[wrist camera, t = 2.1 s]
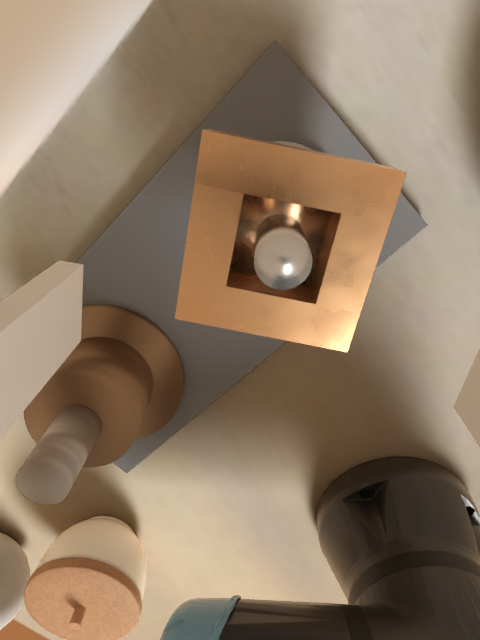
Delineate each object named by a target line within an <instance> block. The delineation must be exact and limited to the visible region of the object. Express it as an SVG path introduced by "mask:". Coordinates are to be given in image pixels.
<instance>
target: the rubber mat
mask: <svg viewBox="0 0 480 640" xmlns="http://www.w3.org/2000/svg"><path fill="white" fill-rule="evenodd" d="M204 129H213V130H218V131H223V132H228V133H232V134H237V135H242V136H247V137H252V138H256V139H261V140H266V141H288V142H294V143H298V144H301V145H304V146H306V147H308V148H310V149H312V150H314V151H318V152H323V153H328V154H332V155H337V156H342V157H347V158H351V159H356V160H361V161H366V162H371V163H375V164H377V163H376V162H375V160H374V159H373V158H372V157H371V156H370V154H369V153H368V152H367V151H366V150H365V148H364V147H363V146H362V145H361V143H360V142H359V141H358V140H357V139H356V137H355V136H354V135H353V134H352V133H351V131H350V130H349V129H348V128H347V127H346V125H345V124H344V123H343V122H342V120H341V119H340V118H339V117H338V116H337V114H336V113H335V112H334V111H333V110H332V108H331V107H330V106H329V105H328V104H327V102H326V101H325V100H324V99H323V97H322V96H321V95H320V94H319V93H318V91H317V90H316V89H315V88H314V87H313V85H312V84H311V83H310V82H309V81H308V79H307V78H306V77H305V76H304V74H303V73H302V72H301V71H300V70H299V68H298V67H297V66H296V65H295V64H294V62H293V61H292V60H291V59H290V58H289V56H288V55H287V54H286V53H285V51H284V50H283V49H282V48H281V47H280V45H279V44H278V43H277V42H276V41H274V43H273V44H272V45H271V46H270V47H269V48H268V49H267V50H266V51H265V53H264V54H263V55H262V56H261V57H260V58H259V59H258V60H257V62H256V63H255V64H254V65H253V66H252V67H251V68H250V69H249V70H248V72H247V73H246V74H245V75H244V76H243V77H242V78H241V79H240V81H239V82H238V83H237V84H236V85H235V86H234V87H233V88H232V89H231V91H230V92H229V93H228V94H227V95H226V96H225V97H224V98H223V100H222V101H221V102H220V103H219V104H218V105H217V106H216V107H215V108H214V110H213V111H212V112H211V113H210V114H209V115H208V116H207V117H206V119H205V120H204V121H203V122H202V123H201V124H200V125H199V126H198V127H197V129H196V130H195V131H194V132H193V133H192V134H191V135H190V136H189V138H188V139H187V140H186V141H185V142H184V143H183V144H182V145H181V146H180V148H179V149H178V150H177V151H176V152H175V153H174V154H173V155H172V157H171V158H170V159H169V160H168V161H167V162H166V163H165V164H164V165H163V167H162V168H161V169H160V170H159V171H158V172H157V173H156V174H155V176H154V177H153V178H152V179H151V180H150V181H149V182H148V183H147V184H146V186H145V187H144V188H143V189H142V190H141V191H140V192H139V193H138V195H137V196H136V197H135V198H134V199H133V200H132V201H131V202H130V203H129V205H128V206H127V207H126V208H125V209H124V210H123V211H122V212H121V214H120V215H119V216H118V217H117V218H116V219H115V220H114V221H113V222H112V224H111V225H110V226H109V227H108V228H107V229H106V230H105V231H104V233H103V234H102V235H101V236H100V237H99V238H98V239H97V240H96V241H95V243H94V244H93V245H92V246H91V247H90V248H89V249H88V250H87V252H86V253H85V254H84V255H83V256H82V257H81V258H80V259H79V260H78V262H77V263H78V264H83V294H82V305H90V304H107V305H114V306H119V307H122V308H126V309H129V310H131V311H134V312H136V313H138V314H140V315H142V316H144V317H146V318H147V319H149V320H150V321H152V322H153V323H154V324H156V325H157V326H158V327H159V328H160V329H161V330H162V331H163V332H164V333H165V334H166V335H167V336H168V337H169V338H170V340H171V341H172V343H173V344H174V346H175V347H176V349H177V351H178V353H179V355H180V358H181V361H182V364H183V368H184V377H185V383H184V391H183V395H182V399H181V402H180V404H179V407H178V409H177V411H176V412H175V414H174V416H173V417H172V418H171V419H170V421H169V422H168V423H167V424H166V425H165V426H163V427H162V428H161V429H159V430H158V431H156V432H155V433H153V434H151V435H149V436H147V437H144V438H141V439H138V440H133V442H132V445H131V446H130V448H129V450H128V451H127V452H126V453H125V454H124V455H123V456H122V457H121V458H119V459H118V460H116V461H114V462H113V463H114V464H115V465H117V466H118V467H119V468H121V469H122V470H123V471H125V472H126V473H128V472H129V471H130V470H131V469H132V468H134V467H135V466H136V465H137V464H138V463H140V462H141V461H142V460H143V459H145V458H146V457H147V456H148V455H149V454H151V453H152V452H153V451H154V450H155V449H157V448H158V447H159V446H160V445H162V444H163V443H164V442H165V441H166V440H168V439H169V438H170V437H171V436H172V435H174V434H175V433H176V432H177V431H178V430H180V429H181V428H182V427H183V426H185V425H186V424H187V423H188V422H189V421H191V420H192V419H193V418H194V417H195V416H197V415H198V414H199V413H200V412H202V411H203V410H204V409H205V408H206V407H208V406H209V405H210V404H211V403H212V402H214V401H215V400H216V399H217V398H218V397H220V396H221V395H222V394H223V393H225V392H226V391H227V390H228V389H229V388H231V387H232V386H233V385H234V384H235V383H237V382H238V381H239V380H240V379H242V378H243V377H244V376H245V375H246V374H248V373H249V372H250V371H251V370H252V369H254V368H255V367H256V366H257V365H258V364H260V363H261V362H262V361H263V360H265V359H266V358H267V357H268V356H269V355H271V354H272V353H273V352H274V351H275V350H277V349H278V348H279V347H280V346H282V345H283V344H284V343H285V342H286V340H281V339H276V338H271V337H265V336H260V335H255V334H250V333H245V332H240V331H235V330H229V329H224V328H219V327H214V326H209V325H204V324H199V323H193V322H188V321H183V320H178V319H175V313H176V306H177V299H178V293H179V286H180V279H181V272H182V265H183V258H184V252H185V245H186V238H187V231H188V224H189V217H190V210H191V204H192V197H193V190H194V183H195V176H196V169H197V163H198V156H199V149H200V142H201V135H202V130H204ZM426 226H427V223H426V222H425V221H424V220H423V219H422V217H421V216H420V215H419V214H418V212H417V211H416V210H415V209H414V208H413V206H412V205H411V204H410V203H409V202H408V200H407V199H406V198H405V197H404V196H403V194H402V193H401V192H400V195H399V198H398V201H397V204H396V207H395V210H394V213H393V216H392V219H391V222H390V225H389V228H388V231H387V234H386V237H385V240H384V243H383V246H382V249H381V252H380V255H379V258H378V261H377V264H376V267H377V266H378V265H380V264H381V263H382V262H383V261H385V260H386V259H387V258H388V257H389V256H391V255H392V254H393V253H394V252H395V251H397V250H398V249H399V248H400V247H401V246H403V245H404V244H405V243H406V242H408V241H409V240H410V239H411V238H412V237H414V236H415V235H416V234H417V233H418V232H420V231H421V230H422V229H423V228H425V227H426ZM376 267H375V268H376Z"/></svg>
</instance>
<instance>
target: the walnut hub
mask: <svg viewBox="0 0 480 640" xmlns="http://www.w3.org/2000/svg"><path fill="white" fill-rule="evenodd" d="M184 383H185V377H184V368H183V364H182V361H181V358H180V355H179V353H178V351H177V349H176V347H175V346H174V344H173V343H172V341H171V340H170V338H169V337H168V336H167V335H166V334H165V333H164V332H163V331H162V330H161V329H160V328H159V327H158V326H157V325H156V324H154V323H153V322H152V321H150V320H149V319H147V318H146V317H144V316H142V315H140V314H138V313H136V312H134V311H131V310H129V309H126V308H122V307H119V306H114V305H107V304H90V305H82V324H81V341H80V343H79V344H78V345H77V346H76V348H75V349H74V350H73V351H72V352H71V354H70V355H69V356H68V357H67V359H66V360H65V361H64V362H63V363H62V365H61V366H60V367H59V368H58V370H57V371H56V372H55V373H54V375H53V376H52V377H51V378H50V379H49V381H48V382H47V383H46V384H45V386H44V387H43V388H42V389H41V390H40V392H39V393H38V394H37V395H36V397H35V398H34V399H33V400H32V401H31V403H30V404H29V405H28V406H27V408H26V409H25V410H24V419H25V423H26V426H27V429H28V431H29V433H30V435H31V437H32V438H33V439H34V441H35V442H36V443H37V445H36V447H35V448H34V450H33V451H32V453H31V454H30V455H29V457H28V458H27V460H26V461H25V463H24V464H23V466H22V467H21V468H20V470H19V471H18V473H17V475H16V485H17V488H18V489H19V491H20V492H21V494H22V495H23V496H25V497H26V498H27V499H29V500H31V501H33V502H35V503H38V504H42V505H54V504H58V503H60V502H62V501H63V500H64V499H65V498H66V497H67V495H68V494H69V492H70V490H71V488H72V486H73V484H74V482H75V480H76V478H77V476H78V474H79V472H80V470H81V469H82V467H97V466H103V465H106V464H110V463H112V462H114V461H116V460H118V459H119V458H121V457H122V456H123V455H124V454H125V453H126V452H127V451H128V450H129V448H130V446H131V445H132V442H133V440H138V439H141V438H144V437H147V436H149V435H151V434H153V433H155V432H156V431H158V430H159V429H161V428H162V427H163V426H165V425H166V424H167V423H168V422H169V421H170V419H171V418H172V417H173V416H174V414H175V412H176V411H177V409H178V407H179V404H180V402H181V399H182V395H183V391H184Z"/></svg>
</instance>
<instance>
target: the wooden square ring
mask: <svg viewBox="0 0 480 640" xmlns="http://www.w3.org/2000/svg"><path fill="white" fill-rule="evenodd" d="M405 176H406V172H404V171H401V170H398V169H395V168H393V167H390V166H385V165H380V164H375V163H371V162H366V161H361V160H356V159H351V158H347V157H342V156H337V155H332V154H328V153H323V152H318V151H313V150H309V149H304V148H299V147H294V146H290V145H285V144H280V143H275V142H271V141H266V140H261V139H256V138H252V137H247V136H242V135H237V134H232V133H228V132H223V131H218V130H213V129H204V130H202V135H201V142H200V149H199V156H198V163H197V169H196V176H195V183H194V190H193V197H192V204H191V210H190V217H189V224H188V231H187V238H186V245H185V252H184V258H183V265H182V272H181V279H180V286H179V293H178V299H177V306H176V313H175V319H178V320H183V321H188V322H193V323H199V324H204V325H209V326H214V327H219V328H224V329H229V330H235V331H240V332H245V333H250V334H255V335H260V336H265V337H271V338H276V339H281V340H286V341H291V342H296V343H301V344H307V345H312V346H317V347H322V348H327V349H332V350H337V351H342V352H348V349H349V346H350V343H351V340H352V337H353V334H354V331H355V328H356V325H357V322H358V319H359V316H360V313H361V310H362V307H363V304H364V301H365V298H366V295H367V292H368V289H369V285H370V282H371V279H372V276H373V273H374V270H375V267H376V264H377V261H378V258H379V255H380V252H381V249H382V246H383V243H384V240H385V237H386V234H387V231H388V228H389V225H390V222H391V219H392V216H393V213H394V210H395V207H396V204H397V201H398V198H399V195H400V191H401V188H402V185H403V182H404V179H405ZM244 194H249V195H253V196H258V197H263V198H268V199H273V200H278V201H283V202H287V203H292V204H297V205H302V206H307V207H312V208H317V209H321V210H326V211H331V213H330V217H329V221H328V224H327V228H326V232H325V235H324V239H323V243H322V246H321V250H320V254H319V257H318V261H317V265H316V268H315V272H314V275H313V279H312V283H311V286H309V285H304V284H300V285H298V286H296V287H294V288H291V289H287V290H278V289H274V288H271V287H269V286H267V285H266V284H264V283H263V282H262V281H261V280H260V279H259V277H258V275H254V274H249V273H244V272H239V271H234V270H230V266H231V261H232V256H233V251H234V245H235V240H236V235H237V230H238V224H239V219H240V214H241V209H242V204H243V198H244Z"/></svg>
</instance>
